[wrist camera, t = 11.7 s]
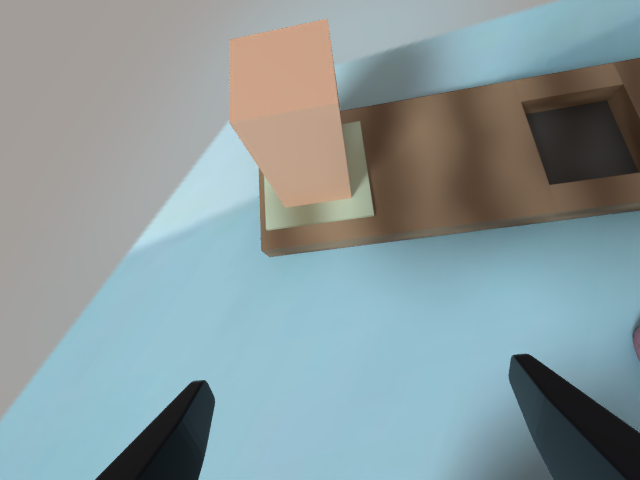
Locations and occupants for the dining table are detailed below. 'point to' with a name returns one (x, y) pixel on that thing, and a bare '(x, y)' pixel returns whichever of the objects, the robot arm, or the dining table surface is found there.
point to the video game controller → (637, 341)
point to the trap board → (476, 162)
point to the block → (290, 111)
